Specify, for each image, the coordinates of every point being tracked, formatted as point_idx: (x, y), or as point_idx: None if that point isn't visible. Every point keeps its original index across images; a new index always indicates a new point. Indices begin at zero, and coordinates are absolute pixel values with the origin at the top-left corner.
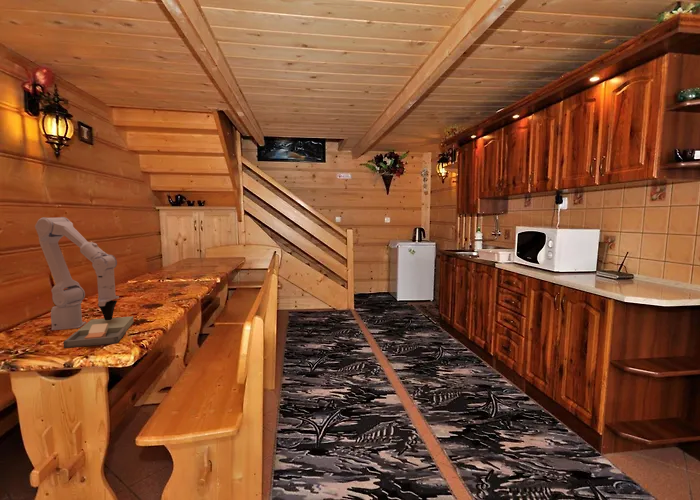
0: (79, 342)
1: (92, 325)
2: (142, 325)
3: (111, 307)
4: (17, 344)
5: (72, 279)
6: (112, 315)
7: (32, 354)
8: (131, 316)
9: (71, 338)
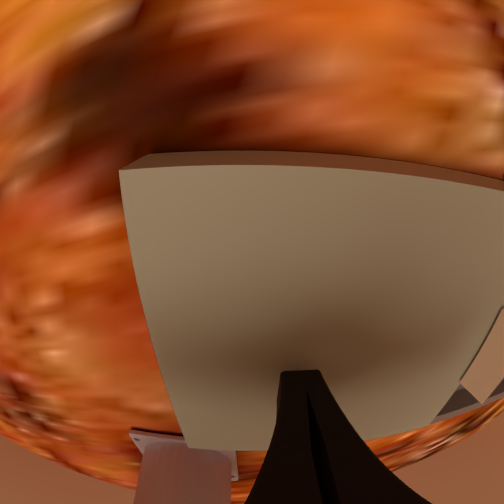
0: None
1: (488, 396)
2: (308, 30)
3: (408, 494)
4: None
5: None
6: (301, 400)
7: (486, 412)
8: (123, 193)
9: (497, 391)
